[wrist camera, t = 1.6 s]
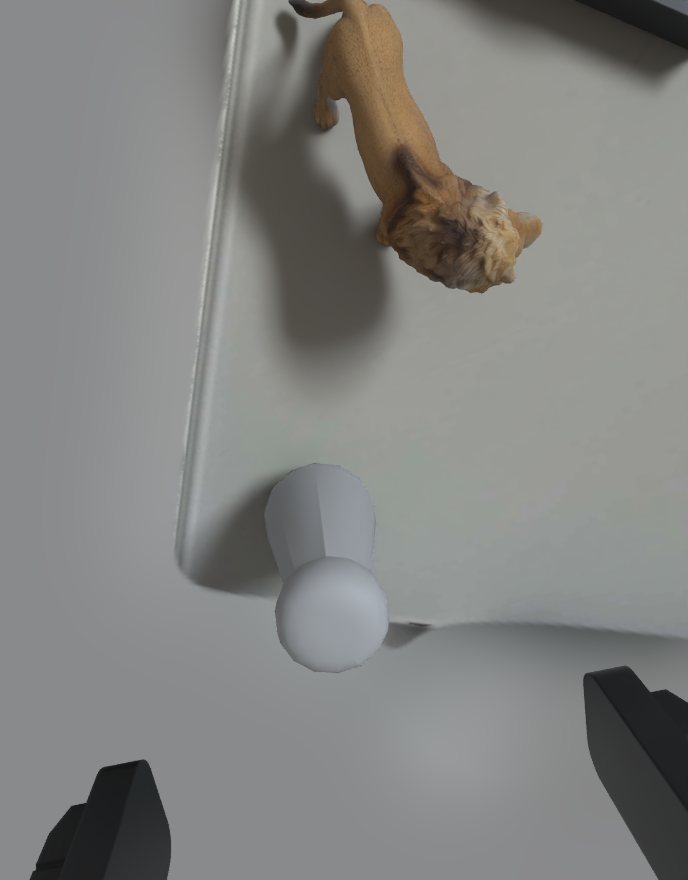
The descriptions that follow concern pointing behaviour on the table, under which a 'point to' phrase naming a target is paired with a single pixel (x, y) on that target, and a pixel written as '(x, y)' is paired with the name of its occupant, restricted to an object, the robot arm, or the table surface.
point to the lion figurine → (412, 159)
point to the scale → (650, 16)
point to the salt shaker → (326, 568)
